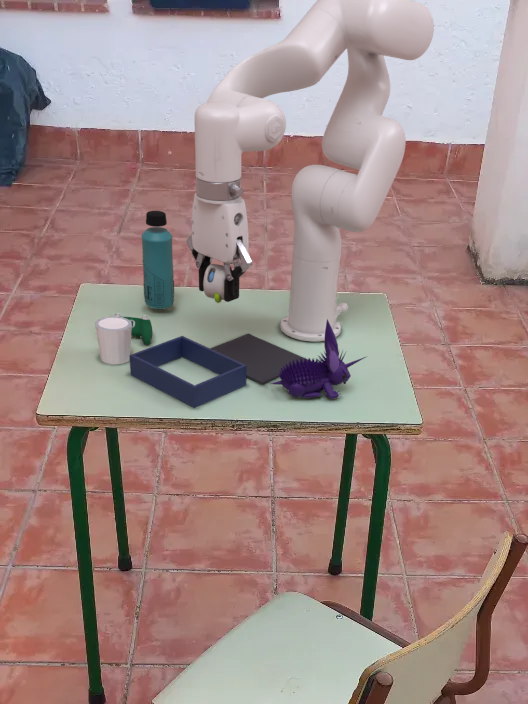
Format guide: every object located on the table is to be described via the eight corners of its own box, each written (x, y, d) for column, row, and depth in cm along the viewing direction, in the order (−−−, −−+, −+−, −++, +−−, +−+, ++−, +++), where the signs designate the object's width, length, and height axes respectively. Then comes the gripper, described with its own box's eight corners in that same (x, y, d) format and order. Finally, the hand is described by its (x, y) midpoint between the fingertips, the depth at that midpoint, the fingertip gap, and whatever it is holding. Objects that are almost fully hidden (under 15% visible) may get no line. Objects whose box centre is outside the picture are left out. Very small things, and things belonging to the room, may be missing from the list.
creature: (368, 402, 163) (377, 338, 155) (270, 403, 161) (274, 338, 153) (359, 380, 170) (367, 318, 162) (265, 381, 168) (268, 318, 160)
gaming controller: (152, 350, 179) (156, 321, 180) (149, 342, 175) (153, 313, 176) (107, 346, 180) (111, 317, 180) (103, 338, 176) (107, 309, 176)
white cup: (94, 352, 173) (91, 317, 169) (128, 348, 175) (126, 314, 171) (101, 367, 168) (99, 332, 164) (137, 363, 170) (135, 328, 166)
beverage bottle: (180, 309, 191) (179, 211, 179) (162, 318, 187) (159, 219, 174) (156, 301, 194) (153, 205, 181) (137, 311, 190) (132, 212, 177)
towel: (248, 335, 183) (248, 333, 182) (311, 363, 174) (311, 360, 174) (198, 355, 175) (198, 352, 174) (262, 385, 166) (262, 382, 166)
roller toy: (199, 302, 159) (199, 269, 155) (212, 289, 164) (212, 257, 160) (223, 306, 158) (223, 273, 154) (235, 293, 163) (235, 261, 159)
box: (182, 355, 174) (182, 335, 172) (246, 385, 166) (246, 365, 163) (130, 375, 166) (129, 355, 164) (194, 408, 158) (194, 387, 155)
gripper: (271, 195, 146) (268, 303, 158) (199, 172, 155) (200, 275, 167) (239, 205, 142) (238, 315, 154) (166, 180, 151) (171, 286, 163)
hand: (219, 293), depth 160 cm, fingers closed on roller toy, 5 cm apart
